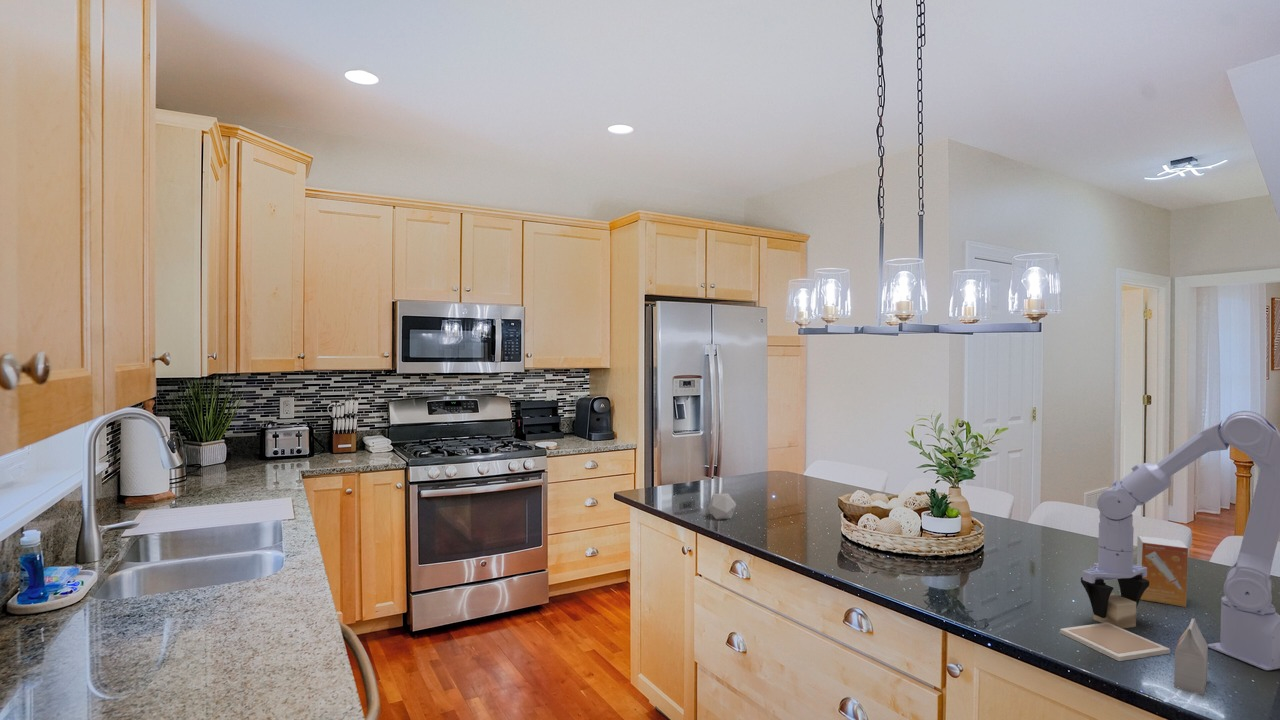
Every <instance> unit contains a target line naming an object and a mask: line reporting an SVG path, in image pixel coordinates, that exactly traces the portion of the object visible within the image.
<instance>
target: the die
mask: <svg viewBox="0 0 1280 720" xmlns="http://www.w3.org/2000/svg"><path fill="white" fill-rule="evenodd" d="M736 507H737V503H736V502H735V500H734V499H733V498H732V496H731V495H730V494H729V493H713V494H712V496H711V499H710V502H709V504H708V505H707V509H708V510H709V512H710V513H711V515H712V516H713V517H714V519H715V520H717V521H718V520H731V519H732V517H733V514H734V512H735V510H736Z"/></svg>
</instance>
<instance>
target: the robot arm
mask: <svg viewBox="0 0 1280 720" xmlns="http://www.w3.org/2000/svg"><path fill="white" fill-rule="evenodd" d="M1222 421H1223V419H1221V420H1219V421H1217V422H1215V423H1213V424H1211V425H1209V426H1207V427H1205V428H1204V429H1202V430H1200V431H1198V432H1197V433H1196V434H1194V435H1193V436H1192V437H1191V438H1189V439H1188V440H1186V441H1185V442H1184V443H1183V444H1181V445H1180V446H1178V447H1177V448H1176V449H1174V450H1172V452H1170V453H1169V454H1168V455H1167V456H1165V457H1164V458H1163V459H1161V460H1160V461H1159V462H1157V463H1156V462H1155V463H1151V462H1143V463H1142V464H1141V465H1139V463H1136V464H1135V465H1133V466H1132V467H1131V468H1130V469H1131V470H1132V471H1131V472H1130V473H1128V474H1126V476H1124V477H1123V478H1121V479H1120V480H1114V481H1113V482H1112V483H1111V485H1112V487H1109V488H1107V489H1106V490H1103V492H1102V493H1101V494H1100V495H1099V496H1098V498H1097V501H1096V504H1097V505H1096V506H1097V509H1098V511H1099V517H1098V518H1099V523H1098V540H1097V541H1098V547H1097V549H1098V552H1097V554H1098V555H1097V562H1094V563H1093V567H1092V568H1088V569H1085V570H1082V577H1080V583H1081V585H1082V586H1083V588H1084V590H1085V592H1086V593H1087V596H1088V598H1089V602H1090V605H1091V608H1092V612H1093V613H1094V615H1096V616H1099V617H1101V618H1106V615H1107V607H1108V600H1109V597H1110V594H1111V593H1112V592H1113V590H1114V587H1113V586H1111V585H1108V584H1107V583H1106V582H1105V581H1111V580H1116V581H1117V583H1118V586H1119V592H1120V596H1121V597H1124V598H1127V599H1129V600H1132V601H1135V602H1136V610H1137V609H1138V605H1139V603H1140V600H1141V599H1140V598H1141V596H1142V594H1143V593H1144V591H1145V590H1146V589H1147V587H1148V586H1149V581H1148V580H1146V579H1143V578H1142V577H1147V568H1146V567H1143V566H1140V565H1137V564H1134V526H1133V525H1134V523H1133V520H1134V519H1133V517H1134V516H1133V512H1135V510H1136V509H1137V506H1138V507H1139V506H1144V505H1145V504H1147V503H1148V502H1150V501H1151V500H1152V499H1154V498H1155V497H1157V496H1158V495H1161V493H1163V492H1164V491H1165V490H1167V489H1168V488H1171V487H1172V476H1174V475H1175V474H1176V473H1178V472H1180V471H1181V470H1182V469H1184V468H1186V467H1188V466H1189V465H1190V464H1192V463H1193V462H1195V461H1197V460H1198V459H1200V458H1201V457H1202V456H1204V455H1206V454H1207V453H1210V452H1218V451H1226V450H1228V449H1229V447H1230V446H1231V447H1233V448H1234V449H1237V450H1238V451H1239V452H1242V453H1244V454H1245V455H1247V457H1248V458H1249V459H1250V460H1251V461H1252V462H1253V463H1254V464H1255V465H1256V466H1257V467H1258V468H1259V473H1258V478H1257V482H1256V485H1255V489H1254V493H1253V497H1252V500H1251V503H1250V504H1251V505H1250V508H1249V513H1248V516H1247V521H1246V525H1245V528H1244V529H1245V530H1244V531H1243V532H1244V533H1243V536H1242V541H1241V545H1240V549H1239V552H1238V556H1237V560H1236V562H1235V563H1234V564H1233V565H1232V566H1231V567H1229V568H1228V570H1227V572H1226V575H1225V578H1226V580H1225V581H1224V584H1223V594H1224V595H1223V596H1222V597H1221V598H1220V600H1221V602H1220V638H1219V641H1220V642H1214V643H1207V645H1208V648H1209V649H1211V650H1214V651H1218V652H1219V653H1221V654H1225V655H1227V656H1229V657H1231V658H1234V659H1236V660H1240V661H1241V662H1244V663H1246V664H1249V665H1251V666H1255V667H1257V668H1259V669H1262V670H1264V671H1273V670H1278V669H1280V614H1279V613H1278V612H1276V606H1275V605H1273V604H1272V600H1273V593H1272V588H1273V581H1272V577H1271V571H1272V566H1273V562H1274V557H1275V553H1276V549H1277V545H1278V542H1279V538H1280V431H1279V430H1278V428H1277V427H1276V426H1275V424H1273V422H1272V423H1271V422H1270V421H1269V420H1268V419H1267V418H1266V417H1264V416H1263V415H1261V414H1260V413H1257V411H1252V410H1239V411H1236V412H1233V413H1231V414H1229V415H1228V417H1226V419H1225V420H1224V421H1223V422H1222ZM1093 613H1092V614H1093Z"/></svg>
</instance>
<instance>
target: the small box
mask: <svg viewBox="0 0 1280 720" xmlns="http://www.w3.org/2000/svg"><path fill="white" fill-rule="evenodd" d="M1136 545H1137V546H1136V547H1137V549H1136V550H1137V551H1136V552H1137V553H1136V565H1140V566H1143V567H1146V568H1147V577H1142V578H1143V579H1146V580H1148V581H1149V586H1148V587H1147V589H1146V590H1145V591H1144V593H1143V594H1142V596H1141V598H1140V600H1141V601H1147V602H1154V603H1155V602H1156V603H1161V604H1165V605H1171V606H1172V605H1173V606H1178V607H1183V608H1186V607H1187V600H1188V599H1187V598H1188V597H1187V595H1188V594H1187V593H1188V564H1189V563H1188V560H1189V548H1188V546H1187V545H1186V544H1185V543H1184V542H1183V540H1179V539H1178V540H1177V539H1169V538H1162V537H1152V536H1141V535H1137V543H1136Z"/></svg>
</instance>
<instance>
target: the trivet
mask: <svg viewBox="0 0 1280 720" xmlns="http://www.w3.org/2000/svg"><path fill="white" fill-rule="evenodd" d="M1059 634H1061V635H1063V636H1065V637H1067V638H1069V639H1072V640H1074V641H1076V642H1078V643H1080V644H1082V645H1085V646H1087V647H1088V648H1091V649H1092V650H1094V651H1096V652H1099V653H1101V654H1104V655H1105V656H1107V657H1109V658H1111V659H1112V660H1116V661H1117V662H1124V661H1130V660H1136V659H1142V658H1150V657H1155V656H1162V655H1167V654H1171V648H1169V647H1166V646H1164V645H1162V644H1160V643H1156V642H1155V641H1152V640H1150V639H1148V638H1146V637H1143V636H1141V635H1139V634H1136V633H1133V632H1131V631H1129V630H1127V629H1125V628H1120V627H1117V626H1115V625H1113V624H1110V623H1108V622H1106V623H1101V622H1099V623H1093V624H1085V625H1078V626H1071V627H1070V626H1069V627H1063V628H1059Z"/></svg>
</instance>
